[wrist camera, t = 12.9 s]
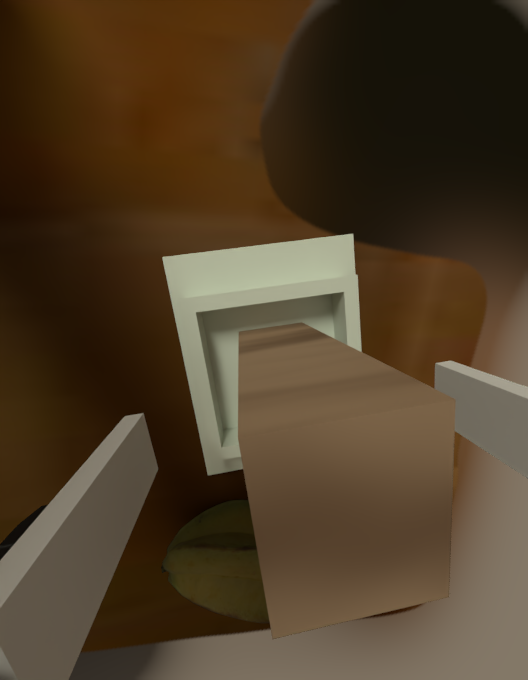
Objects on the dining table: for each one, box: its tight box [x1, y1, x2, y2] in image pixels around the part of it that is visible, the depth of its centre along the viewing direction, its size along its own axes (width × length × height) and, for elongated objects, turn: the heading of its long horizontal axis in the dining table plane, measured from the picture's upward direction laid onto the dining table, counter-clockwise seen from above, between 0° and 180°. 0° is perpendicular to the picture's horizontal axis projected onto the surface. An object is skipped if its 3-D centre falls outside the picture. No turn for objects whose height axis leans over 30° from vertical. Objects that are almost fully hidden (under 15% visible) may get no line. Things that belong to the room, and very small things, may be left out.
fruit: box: [162, 500, 270, 623], centre depth 20 cm, size 11×12×7 cm
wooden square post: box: [238, 322, 456, 639], centre depth 13 cm, size 6×5×14 cm
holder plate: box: [162, 234, 361, 475], centre depth 19 cm, size 18×14×3 cm
